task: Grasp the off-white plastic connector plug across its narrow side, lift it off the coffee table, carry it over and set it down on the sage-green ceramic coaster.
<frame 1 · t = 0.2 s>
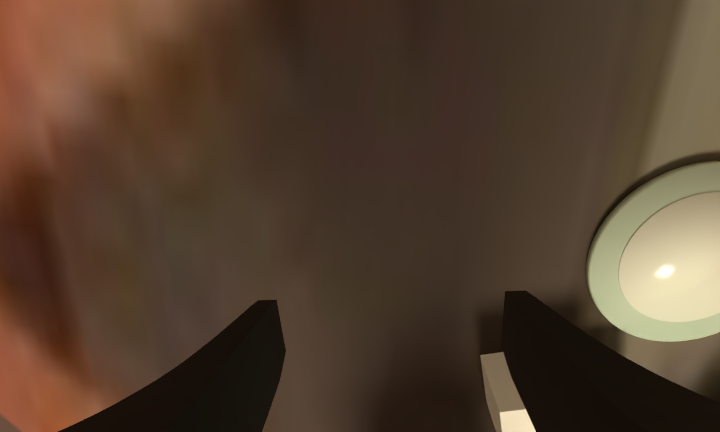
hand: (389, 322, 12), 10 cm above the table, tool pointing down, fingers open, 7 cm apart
coaster: (688, 256, 22), on the table
connector: (529, 371, 25), on the table
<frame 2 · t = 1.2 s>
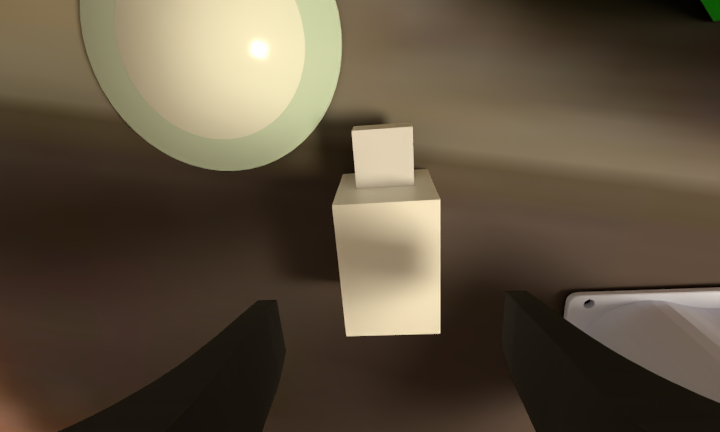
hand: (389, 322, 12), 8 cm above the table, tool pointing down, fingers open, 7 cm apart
coaster: (215, 43, 17), on the table
connector: (387, 228, 20), on the table
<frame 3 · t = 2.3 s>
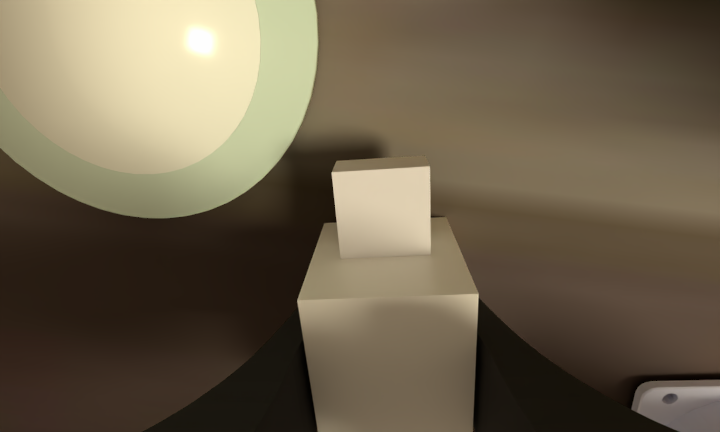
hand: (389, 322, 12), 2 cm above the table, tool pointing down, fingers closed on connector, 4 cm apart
coaster: (126, 32, 11), on the table
connector: (388, 297, 14), on the table, touching gripper
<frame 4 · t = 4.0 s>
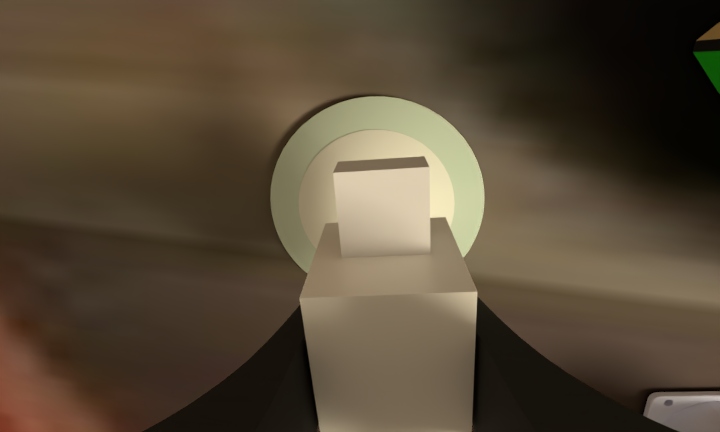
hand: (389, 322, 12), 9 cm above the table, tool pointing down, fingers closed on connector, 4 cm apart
coaster: (375, 204, 20), on the table
connector: (389, 296, 14), point 7 cm above the table, touching gripper
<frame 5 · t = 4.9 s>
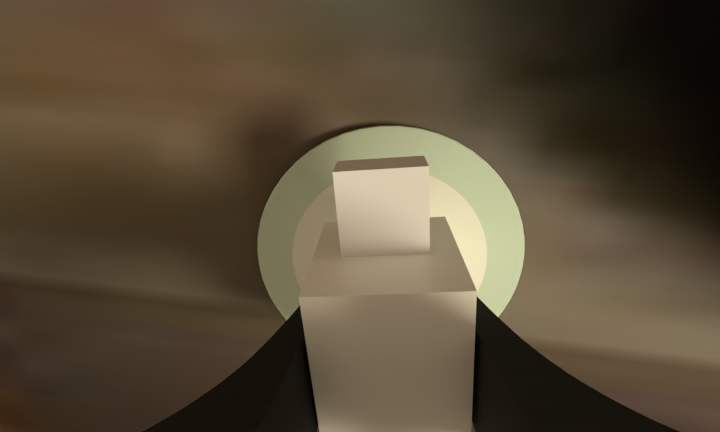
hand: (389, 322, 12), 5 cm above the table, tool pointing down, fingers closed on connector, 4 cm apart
coaster: (388, 255, 17), on the table
connector: (388, 296, 14), point 3 cm above the table, touching gripper
when the fingers open (3 cm above the table, at t = 5.7 s): connector stays where it is, resting on coaster.
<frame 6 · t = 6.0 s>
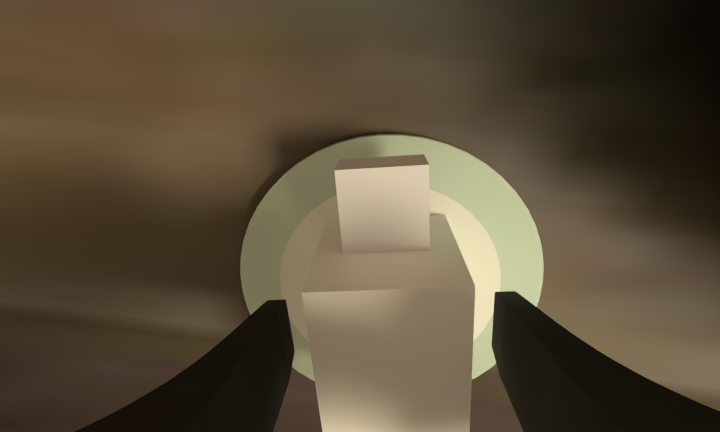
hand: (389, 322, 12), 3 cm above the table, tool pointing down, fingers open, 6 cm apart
coaster: (388, 279, 15), on the table
connector: (389, 293, 14), point 1 cm above the table, touching coaster
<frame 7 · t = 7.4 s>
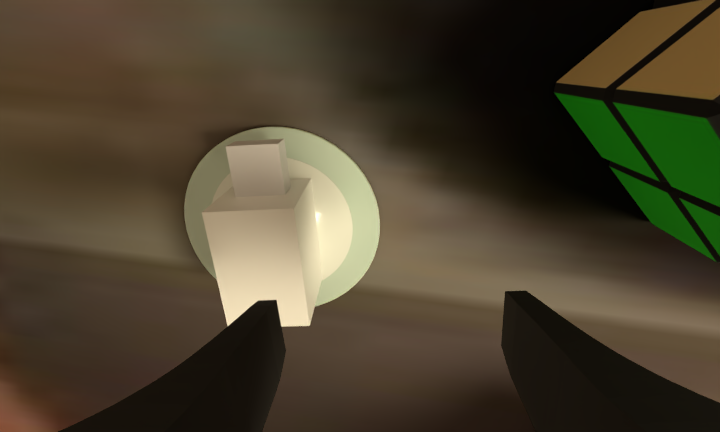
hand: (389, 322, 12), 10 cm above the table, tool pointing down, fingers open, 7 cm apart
coaster: (283, 223, 22), on the table
puzzle cube: (692, 90, 19), on the table
connector: (281, 231, 22), point 1 cm above the table, touching coaster
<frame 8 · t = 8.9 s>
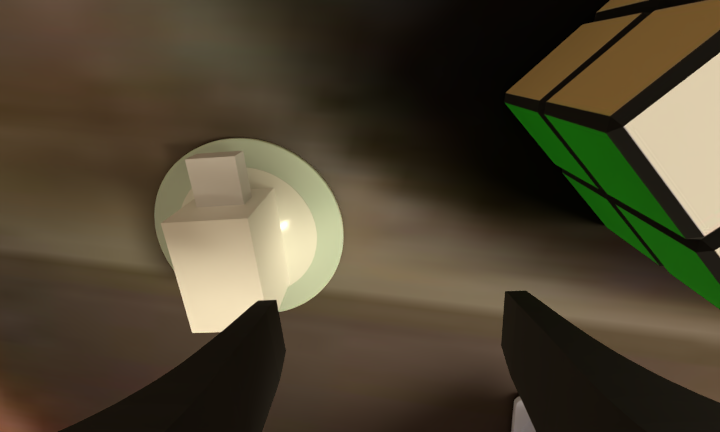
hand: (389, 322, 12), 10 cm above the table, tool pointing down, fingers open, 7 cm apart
coaster: (251, 230, 23), on the table
puzzle cube: (639, 98, 19), on the table
connector: (248, 239, 22), point 1 cm above the table, touching coaster
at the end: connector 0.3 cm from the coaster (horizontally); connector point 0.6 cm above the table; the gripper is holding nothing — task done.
